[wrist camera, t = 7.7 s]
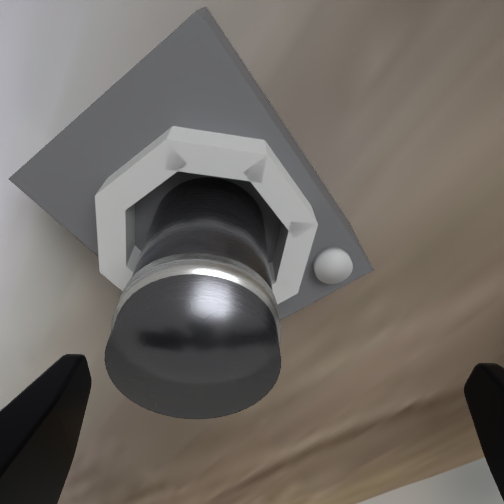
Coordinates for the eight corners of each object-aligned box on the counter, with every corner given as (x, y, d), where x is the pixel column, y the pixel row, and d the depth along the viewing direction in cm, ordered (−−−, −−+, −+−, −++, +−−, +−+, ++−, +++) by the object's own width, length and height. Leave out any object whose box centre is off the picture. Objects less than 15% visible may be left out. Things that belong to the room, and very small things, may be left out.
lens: (262, 169, 14) (280, 288, 8) (270, 268, 17) (288, 413, 11) (139, 181, 14) (73, 307, 9) (165, 278, 17) (128, 427, 11)
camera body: (351, 225, 20) (384, 291, 16) (217, 304, 23) (212, 380, 18) (206, 6, 15) (193, 11, 10) (51, 144, 17) (-14, 196, 13)
